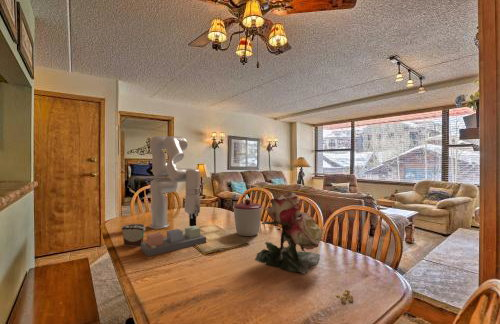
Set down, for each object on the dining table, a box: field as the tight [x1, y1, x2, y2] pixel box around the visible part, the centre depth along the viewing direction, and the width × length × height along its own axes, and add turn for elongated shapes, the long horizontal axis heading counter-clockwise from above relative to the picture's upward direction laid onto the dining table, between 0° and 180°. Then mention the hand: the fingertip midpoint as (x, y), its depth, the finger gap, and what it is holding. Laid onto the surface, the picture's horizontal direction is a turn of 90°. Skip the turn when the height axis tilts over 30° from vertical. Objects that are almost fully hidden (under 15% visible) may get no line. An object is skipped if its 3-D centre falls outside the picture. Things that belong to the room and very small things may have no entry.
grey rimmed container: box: [121, 223, 146, 247], centre depth 127 cm, size 12×6×10 cm, turn 84°
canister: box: [232, 198, 264, 237], centre depth 145 cm, size 18×18×21 cm
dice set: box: [335, 289, 354, 304], centre depth 78 cm, size 5×5×2 cm
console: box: [140, 233, 207, 257], centre depth 125 cm, size 12×30×4 cm, turn 129°
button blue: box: [166, 228, 184, 243], centre depth 125 cm, size 6×6×5 cm
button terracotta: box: [146, 232, 164, 248], centre depth 118 cm, size 6×6×5 cm
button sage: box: [184, 225, 201, 239], centre depth 131 cm, size 6×6×5 cm
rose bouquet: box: [255, 191, 324, 275], centre depth 109 cm, size 26×29×30 cm
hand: (192, 225), depth 131 cm, fingers closed
